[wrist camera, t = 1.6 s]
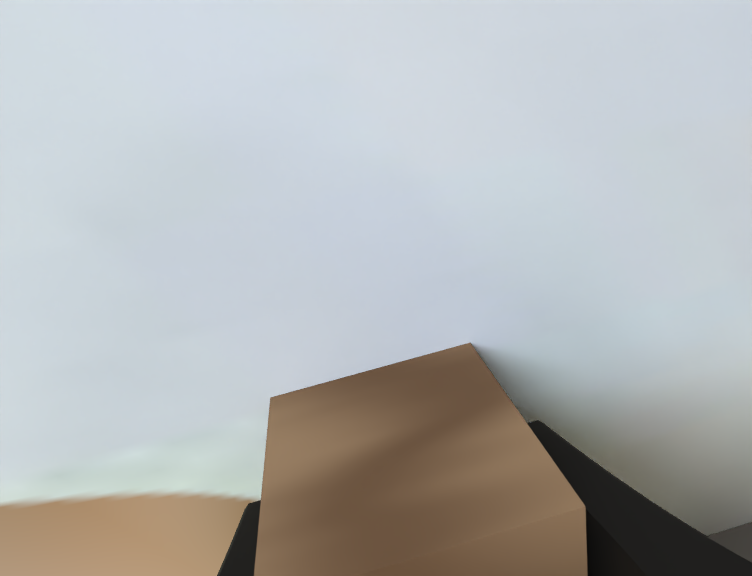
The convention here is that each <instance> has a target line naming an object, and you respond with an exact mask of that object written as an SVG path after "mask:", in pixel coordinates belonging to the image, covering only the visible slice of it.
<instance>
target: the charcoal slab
mask: <svg viewBox="0 0 752 576" xmlns="http://www.w3.org/2000/svg"><path fill="white" fill-rule="evenodd" d="M707 537H709V538H710V539H712V540H714V541H715V542H717V543H719V544H721V545H722V546H724V547H726V548H727V549H729V550H731V551H733V552H734V553H736V554H738V555H740V556H741V557H743V558H745V559H747V560H749V561H750V562H752V522H751V523H747V524H744V525H741V526H738V527H735V528H732V529H728V530H725V531H722V532H719V533H716V534H712V535H709V536H707Z"/></svg>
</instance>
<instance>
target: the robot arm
mask: <svg viewBox="0 0 752 576" xmlns="http://www.w3.org/2000/svg"><path fill="white" fill-rule="evenodd" d="M527 424H528V426H529V427H530V428H531V430H532V431H533V433H534V434H535V435H536V437H537V438H538V440H539V441H540V443H541V444H542V445H543V447H544V448H545V450H546V451H547V453H548V454H549V455H550V457H551V458H552V460H553V461H554V462H555V464H556V465H557V467H558V468H559V470H560V471H561V472H562V474H563V475H564V477H565V478H566V479H567V481H568V482H569V484H570V485H571V487H572V488H573V489H574V491H575V492H576V494H577V495H578V497H579V498H580V499H581V501H582V502H583V504H584V505H585V508H586V540H587V573H588V576H752V562H750V561H749V560H747V559H745V558H743V557H741V556H740V555H738V554H736V553H734V552H733V551H731V550H729V549H727V548H726V547H724V546H722V545H721V544H719V543H717V542H715V541H714V540H712V539H710V538H709V537H707V536H706V535H704V534H702V533H701V532H699V531H697V530H696V529H694V528H692V527H691V526H689V525H688V524H686V523H684V522H683V521H681V520H680V519H678V518H676V517H675V516H673V515H672V514H670V513H668V512H667V511H665V510H664V509H662V508H661V507H659V506H658V505H656V504H655V503H653V502H652V501H650V500H649V499H647V498H646V497H644V496H643V495H641V494H640V493H638V492H637V491H635V490H634V489H632V488H631V487H630V486H628V485H627V484H625V483H624V482H622V481H621V480H619V479H618V478H616V477H615V476H613V475H612V474H611V473H609V472H608V471H606V470H605V469H604V468H602V467H601V466H599V465H598V464H597V463H595V462H594V461H593V460H591V459H590V458H589V457H587V456H586V455H584V454H583V453H582V452H580V451H579V450H578V449H576V448H575V447H574V446H572V445H571V444H570V443H568V442H567V441H566V440H564V439H563V438H562V437H560V436H559V435H558V434H557V433H555V432H554V431H553V430H551V429H550V428H549V427H547V426H546V425H545V424H544V423H542V422H540V421H539V420H537V421H534V422H530V423H527ZM260 505H261V500H260V501H256V502H253V503H249V504H248V505H247V507H246V509H245V510H244V513H243V515H242V518H241V520H240V523H239V525H238V528H237V530H236V532H235V535H234V537H233V540H232V542H231V545H230V547H229V549H228V552H227V554H226V557H225V559H224V561H223V563H222V566H221V568H220V570H219V572H218V575H217V576H254V570H255V559H256V548H257V537H258V526H259V516H260Z"/></svg>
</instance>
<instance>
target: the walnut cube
mask: <svg viewBox="0 0 752 576" xmlns="http://www.w3.org/2000/svg"><path fill="white" fill-rule="evenodd" d="M254 576H588V573H587V540H586V508H585V505H584V504H583V502H582V501H581V499H580V498H579V497H578V495H577V494H576V492H575V491H574V489H573V488H572V487H571V485H570V484H569V482H568V481H567V479H566V478H565V477H564V475H563V474H562V472H561V471H560V470H559V468H558V467H557V465H556V464H555V462H554V461H553V460H552V458H551V457H550V455H549V454H548V453H547V451H546V450H545V448H544V447H543V445H542V444H541V443H540V441H539V440H538V438H537V437H536V435H535V434H534V433H533V431H532V430H531V428H530V427H529V426H528V424H527V423H526V421H525V420H524V418H523V417H522V416H521V414H520V413H519V411H518V410H517V408H516V407H515V406H514V404H513V403H512V401H511V400H510V399H509V397H508V396H507V394H506V393H505V391H504V390H503V389H502V387H501V386H500V384H499V383H498V382H497V380H496V379H495V377H494V376H493V374H492V373H491V372H490V370H489V369H488V367H487V366H486V364H485V363H484V362H483V360H482V359H481V357H480V356H479V355H478V353H477V352H476V350H475V349H474V347H473V346H472V345H471V343H467V344H464V345H460V346H456V347H453V348H449V349H446V350H442V351H438V352H435V353H431V354H427V355H424V356H420V357H416V358H413V359H409V360H406V361H402V362H398V363H395V364H391V365H387V366H384V367H380V368H376V369H373V370H369V371H366V372H362V373H358V374H355V375H351V376H347V377H344V378H340V379H336V380H333V381H329V382H326V383H322V384H318V385H315V386H311V387H307V388H304V389H300V390H296V391H293V392H289V393H286V394H282V395H278V396H275V397H271V398H270V408H269V418H268V429H267V440H266V451H265V462H264V472H263V483H262V494H261V505H260V516H259V526H258V537H257V548H256V559H255V570H254Z"/></svg>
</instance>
